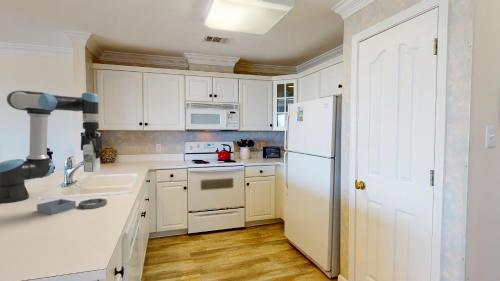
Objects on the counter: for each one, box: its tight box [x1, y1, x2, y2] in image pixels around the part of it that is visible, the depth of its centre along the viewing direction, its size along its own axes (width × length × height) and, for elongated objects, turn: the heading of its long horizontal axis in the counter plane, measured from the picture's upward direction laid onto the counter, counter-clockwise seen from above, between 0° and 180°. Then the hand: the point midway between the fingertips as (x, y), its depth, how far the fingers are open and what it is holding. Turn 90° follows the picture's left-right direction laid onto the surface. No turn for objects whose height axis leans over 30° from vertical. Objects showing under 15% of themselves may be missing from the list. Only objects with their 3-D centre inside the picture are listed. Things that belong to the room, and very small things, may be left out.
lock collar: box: [78, 197, 108, 210], centre depth 149 cm, size 13×13×2 cm
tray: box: [36, 198, 77, 216], centre depth 141 cm, size 12×12×4 cm
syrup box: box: [82, 144, 101, 173], centre depth 147 cm, size 6×6×14 cm
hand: (91, 163), depth 148 cm, fingers closed on syrup box, 7 cm apart
